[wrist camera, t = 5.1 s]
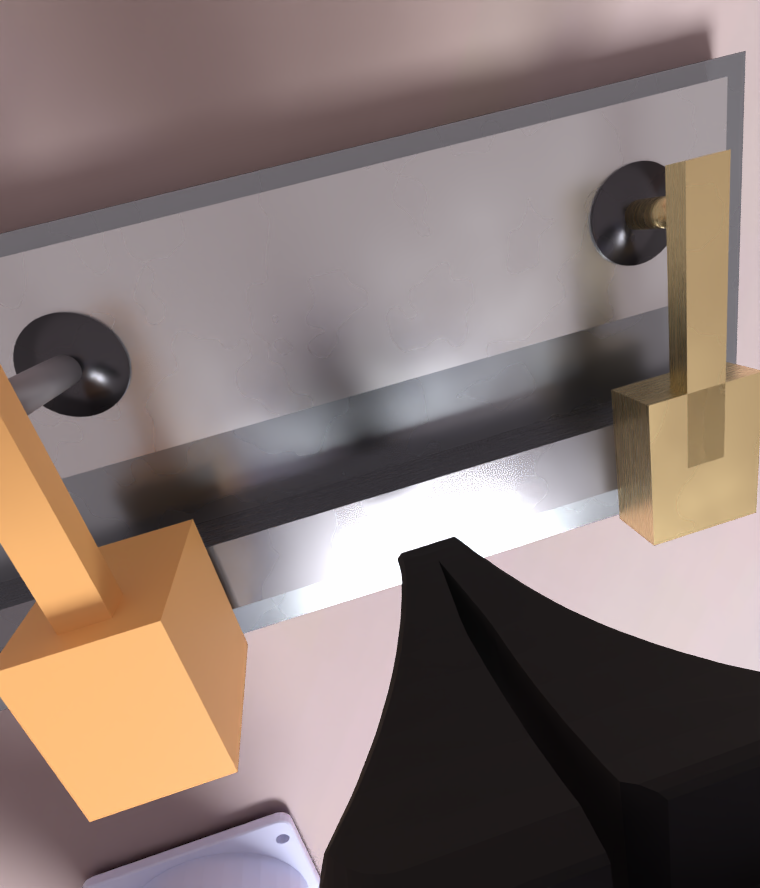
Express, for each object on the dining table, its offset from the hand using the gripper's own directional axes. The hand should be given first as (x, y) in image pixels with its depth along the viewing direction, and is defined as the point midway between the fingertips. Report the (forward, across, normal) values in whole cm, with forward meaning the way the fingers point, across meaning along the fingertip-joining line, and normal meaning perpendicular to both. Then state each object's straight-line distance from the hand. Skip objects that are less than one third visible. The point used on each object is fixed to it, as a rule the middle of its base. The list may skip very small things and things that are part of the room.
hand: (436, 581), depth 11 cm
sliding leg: (+3, +7, -3) cm, 8 cm away
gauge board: (+5, +4, -3) cm, 7 cm away
